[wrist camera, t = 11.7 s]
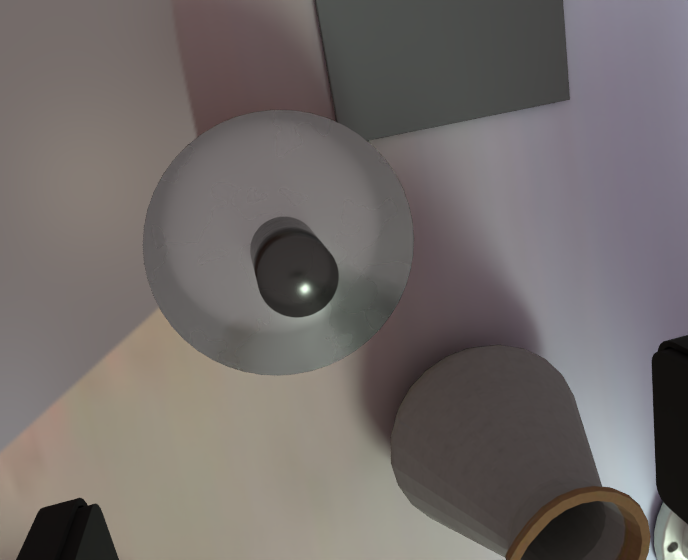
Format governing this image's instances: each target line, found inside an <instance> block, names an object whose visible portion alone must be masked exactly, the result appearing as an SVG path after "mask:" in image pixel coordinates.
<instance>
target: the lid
mask: <svg viewBox="0 0 688 560" xmlns="http://www.w3.org/2000/svg"><path fill="white" fill-rule="evenodd" d="M413 245H414V234H413V223H412V217H411V213H410V208H409V204H408V201H407V198H406V196H405V193H404V190H403V188H402V186H401V184H400V182H399V180H398V178H397V176H396V174H395V173H394V171H393V170H392V168H391V167H390V165H389V164H388V163H387V161H386V160H385V159H384V157H383V156H382V155H381V154H380V153H379V152H378V151H377V150H376V149H375V148H374V147H373V146H372V145H371V144H370V143H369V142H367V141H366V140H365V139H364V138H363V137H361V136H360V135H359V134H357V133H355V132H354V131H352V130H351V129H349V128H347V127H346V126H344V125H342V124H340V123H337V122H335V121H333V120H331V119H328V118H326V117H322V116H319V115H315V114H312V113H307V112H300V111H294V110H268V111H260V112H252V113H248V114H245V115H241V116H237V117H234V118H232V119H229V120H227V121H224V122H222V123H220V124H217V125H216V126H214V127H212V128H211V129H209V130H207V131H206V132H204V133H202V134H201V135H200V136H198V137H197V138H196V139H195V140H193V141H192V142H191V143H190V144H188V145H187V146H186V147H185V148H184V149H183V150H182V152H181V153H180V154H179V155H178V156H177V157H176V158H175V159H174V160H173V161H172V163H171V164H170V166H169V167H168V168H167V170H166V171H165V173H164V174H163V175H162V177H161V179H160V181H159V183H158V185H157V187H156V189H155V191H154V193H153V196H152V198H151V201H150V204H149V207H148V210H147V215H146V220H145V225H144V235H143V254H144V265H145V270H146V274H147V279H148V282H149V285H150V288H151V291H152V293H153V296H154V298H155V300H156V302H157V304H158V306H159V308H160V310H161V311H162V313H163V315H164V316H165V317H166V319H167V320H168V322H169V323H170V324H171V326H172V327H173V328H174V329H175V330H176V331H177V332H178V334H179V335H180V336H181V337H182V338H183V339H184V340H185V341H187V342H188V343H189V344H190V345H191V346H193V347H194V348H195V349H196V350H198V351H199V352H201V353H202V354H204V355H206V356H207V357H209V358H211V359H212V360H214V361H216V362H219V363H221V364H223V365H225V366H228V367H231V368H234V369H237V370H240V371H244V372H249V373H255V374H260V375H291V374H298V373H303V372H309V371H313V370H316V369H319V368H322V367H325V366H328V365H330V364H332V363H334V362H336V361H339V360H341V359H343V358H344V357H346V356H347V355H349V354H351V353H352V352H354V351H356V350H357V349H358V348H359V347H361V346H362V345H363V344H365V343H366V342H367V341H368V340H369V339H370V338H371V337H372V336H373V335H374V334H375V333H376V332H377V331H378V330H379V329H380V328H381V327H382V326H383V324H384V323H385V322H386V321H387V319H388V318H389V317H390V315H391V314H392V312H393V310H394V309H395V307H396V305H397V304H398V302H399V300H400V298H401V296H402V293H403V291H404V289H405V286H406V283H407V280H408V277H409V273H410V270H411V264H412V258H413Z"/></svg>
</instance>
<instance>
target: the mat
mask: <svg viewBox="0 0 688 560" xmlns="http://www.w3.org/2000/svg"><path fill="white" fill-rule="evenodd" d="M315 4H316V10H317V16H318V21H319V27H320V32H321V38H322V43H323V49H324V55H325V60H326V66H327V71H328V77H329V83H330V88H331V94H332V99H333V105H334V110H335V116H336V122H337V123H340V124H342V125H344V126H346V127H347V128H349V129H351V130H352V131H354V132H355V133H357V134H359V135H360V136H361V137H363V138H364V139H365V140H366V141H368V140H373V139H378V138H383V137H388V136H393V135H397V134H402V133H407V132H412V131H417V130H422V129H427V128H432V127H437V126H442V125H447V124H452V123H457V122H461V121H466V120H471V119H476V118H481V117H486V116H491V115H496V114H501V113H506V112H511V111H516V110H521V109H525V108H530V107H535V106H540V105H545V104H550V103H555V102H560V101H565V100H570V96H569V82H568V67H567V52H566V38H565V23H564V9H563V0H315Z"/></svg>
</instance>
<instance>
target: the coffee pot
mask: <svg viewBox="0 0 688 560" xmlns="http://www.w3.org/2000/svg"><path fill="white" fill-rule="evenodd" d="M391 464H392V467H393V471H394V474H395V477H396V480H397V483H398V486H399V487H400V488H401V490H402V491H403V493H404V494H405V495H406V497H407V498H408V500H409V501H410V502H411V504H412V505H414V506H415V507H416V508H418V509H419V510H420V511H422V512H423V513H424V514H426V515H427V516H428V517H430V518H431V519H433V520H435V521H437V522H439V523H441V524H443V525H445V526H446V527H448V528H450V529H452V530H454V531H456V532H458V533H460V534H462V535H464V536H465V537H467V538H469V539H471V540H473V541H475V542H477V543H479V544H481V545H482V546H484V547H486V548H488V549H490V550H492V551H494V552H496V553H498V554H499V555H501V556H503V557H505V558H506V560H646V558H647V555H648V553H649V544H650V531H649V525H648V520H647V518H646V516H645V514H644V513H643V511H642V509H641V507H640V505H639V504H638V503H637V502H636V501H634V500H633V499H632V498H631V497H630V496H629V495H627V494H625V493H623V492H620V491H618V490H615V489H613V488H610V487H602V484H601V481H600V478H599V475H598V472H597V468H596V465H595V462H594V459H593V456H592V452H591V449H590V446H589V443H588V440H587V436H586V433H585V430H584V427H583V424H582V421H581V417H580V414H579V411H578V408H577V405H576V401H575V398H574V395H573V393H572V392H571V390H570V388H569V386H568V384H567V382H566V381H565V379H564V377H563V376H562V374H561V373H560V372H559V371H558V370H557V369H555V368H554V367H553V366H552V365H551V364H550V363H549V362H548V361H547V360H546V359H544V358H542V357H540V356H538V355H536V354H534V353H532V352H530V351H527V350H525V349H522V348H516V347H510V346H503V345H493V346H484V347H475V348H468V349H465V350H463V351H460V352H457V353H455V354H452V355H449V356H447V357H445V358H444V359H442V360H441V361H439V362H438V363H436V364H435V365H433V366H432V367H430V368H429V369H428V370H426V371H425V372H424V373H423V375H422V376H421V377H420V378H419V379H418V380H417V381H416V382H415V383H414V384H413V385H412V386H411V388H410V389H409V391H408V393H407V394H406V396H405V398H404V400H403V401H402V403H401V405H400V407H399V409H398V412H397V416H396V419H395V423H394V427H393V431H392V434H391Z"/></svg>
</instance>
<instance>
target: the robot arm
mask: <svg viewBox="0 0 688 560" xmlns="http://www.w3.org/2000/svg"><path fill="white" fill-rule="evenodd" d="M652 383H653V410H654V436H655V463H656V485H657V490H658V493H659V495H660V497H661V499H662V501H663V504H662V506H661V509H660V511H659V514H658V516H657V521H656V526H655V530H654V547H655V552H656V557H657V560H688V335H686V336H683V337H679V338H675V339H671V340H668V341H664V342H663V343H661V344H660V346H659V348H658V352H656V353H655V354H654V355H653V357H652ZM16 560H119V558H118V556H117V553H116V550H115V547H114V544H113V541H112V539H111V536H110V533H109V530H108V527H107V524H106V522H105V519H104V516H103V513H102V511H101V508H100V507H99V505H98V504H92V505H89V506H88V505H87V503H86V502H85V501H84V499H82V498H77V499H74V500H70V501H66V502H62V503H59V504H55V505H51V506H47V507H44V508H41V509H40V510H39V512H38V513H37V516H36V518H35V520H34V522H33V524H32V526H31V529H30V531H29V533H28V535H27V537H26V540H25V542H24V544H23V546H22V548H21V550H20V553H19V555H18V557H17V559H16Z"/></svg>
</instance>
